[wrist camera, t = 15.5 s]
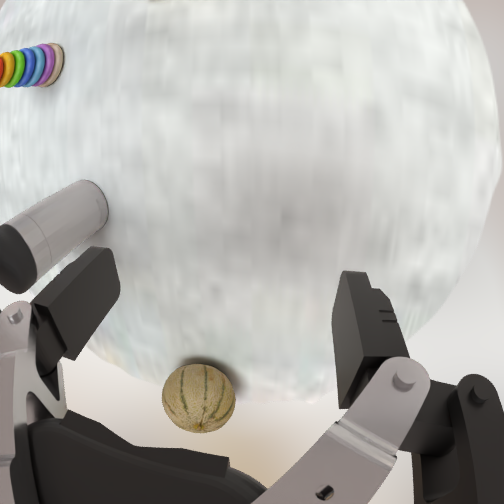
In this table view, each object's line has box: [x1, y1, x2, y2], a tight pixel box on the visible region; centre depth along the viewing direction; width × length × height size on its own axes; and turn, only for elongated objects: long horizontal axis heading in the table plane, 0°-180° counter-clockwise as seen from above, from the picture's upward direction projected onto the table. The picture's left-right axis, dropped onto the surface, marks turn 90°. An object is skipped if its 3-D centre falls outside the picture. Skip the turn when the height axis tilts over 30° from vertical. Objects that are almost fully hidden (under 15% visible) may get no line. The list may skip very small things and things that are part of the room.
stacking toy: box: [0, 43, 63, 88], centre depth 24 cm, size 8×8×19 cm
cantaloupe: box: [162, 364, 236, 433], centre depth 52 cm, size 15×15×15 cm
